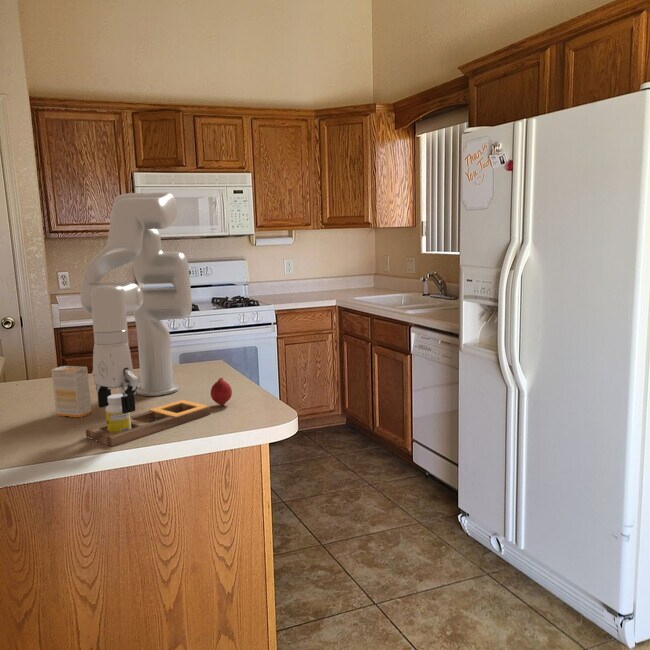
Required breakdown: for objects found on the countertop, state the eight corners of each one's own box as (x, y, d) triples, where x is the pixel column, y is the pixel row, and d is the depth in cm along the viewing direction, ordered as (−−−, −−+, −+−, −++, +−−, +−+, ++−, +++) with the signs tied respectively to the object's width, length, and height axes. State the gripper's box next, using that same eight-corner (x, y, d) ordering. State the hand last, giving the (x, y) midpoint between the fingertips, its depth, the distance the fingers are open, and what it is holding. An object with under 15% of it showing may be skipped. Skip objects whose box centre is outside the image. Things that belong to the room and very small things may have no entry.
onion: (228, 408, 164) (226, 380, 162) (208, 408, 165) (206, 379, 164) (235, 402, 169) (233, 375, 168) (216, 402, 170) (214, 374, 169)
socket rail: (86, 437, 143) (85, 428, 143) (183, 407, 166) (182, 399, 166) (112, 446, 137) (111, 436, 136) (209, 414, 159) (209, 405, 159)
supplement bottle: (111, 432, 147) (107, 393, 145) (133, 431, 147) (130, 392, 146) (105, 439, 141) (101, 399, 140) (128, 438, 142) (125, 398, 140)
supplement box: (92, 413, 163) (88, 366, 161) (80, 418, 159) (75, 370, 157) (68, 411, 166) (63, 364, 164) (55, 416, 162) (50, 368, 160)
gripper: (76, 337, 143) (82, 407, 145) (118, 343, 132) (124, 418, 135) (105, 333, 149) (110, 400, 151) (147, 338, 138) (152, 410, 140)
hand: (116, 409), depth 143 cm, fingers open, 9 cm apart
